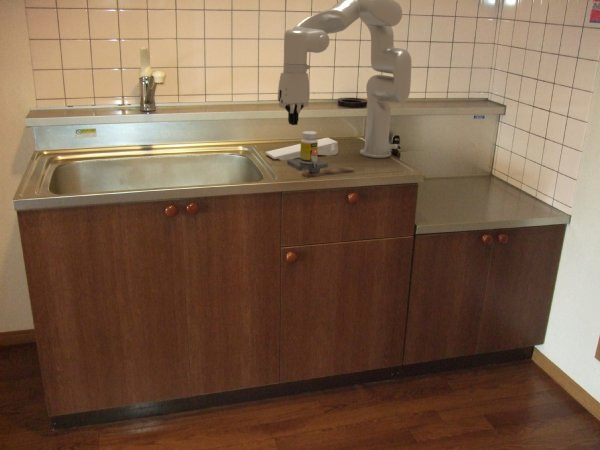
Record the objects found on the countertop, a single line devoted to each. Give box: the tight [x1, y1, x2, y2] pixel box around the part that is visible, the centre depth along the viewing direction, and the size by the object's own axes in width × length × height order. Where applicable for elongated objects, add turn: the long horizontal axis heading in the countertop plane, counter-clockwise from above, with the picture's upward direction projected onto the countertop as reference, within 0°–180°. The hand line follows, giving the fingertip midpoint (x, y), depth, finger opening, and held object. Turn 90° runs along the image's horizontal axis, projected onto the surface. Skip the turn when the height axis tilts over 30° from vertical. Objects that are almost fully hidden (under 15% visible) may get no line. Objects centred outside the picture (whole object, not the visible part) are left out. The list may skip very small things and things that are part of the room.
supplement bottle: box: [299, 130, 319, 164], centre depth 227 cm, size 6×6×11 cm
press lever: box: [307, 150, 321, 173], centre depth 215 cm, size 3×3×8 cm
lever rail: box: [301, 166, 355, 178], centre depth 220 cm, size 20×3×1 cm, turn 117°
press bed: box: [286, 158, 329, 171], centre depth 229 cm, size 12×10×1 cm
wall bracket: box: [265, 137, 339, 161], centre depth 242 cm, size 10×7×28 cm
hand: (293, 124), depth 206 cm, fingers closed
